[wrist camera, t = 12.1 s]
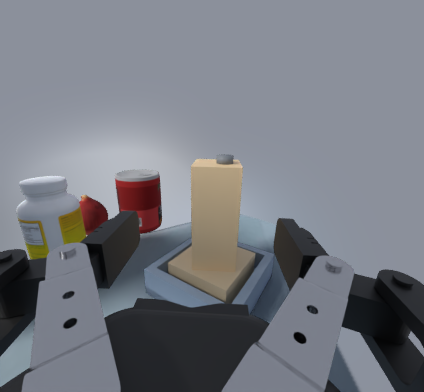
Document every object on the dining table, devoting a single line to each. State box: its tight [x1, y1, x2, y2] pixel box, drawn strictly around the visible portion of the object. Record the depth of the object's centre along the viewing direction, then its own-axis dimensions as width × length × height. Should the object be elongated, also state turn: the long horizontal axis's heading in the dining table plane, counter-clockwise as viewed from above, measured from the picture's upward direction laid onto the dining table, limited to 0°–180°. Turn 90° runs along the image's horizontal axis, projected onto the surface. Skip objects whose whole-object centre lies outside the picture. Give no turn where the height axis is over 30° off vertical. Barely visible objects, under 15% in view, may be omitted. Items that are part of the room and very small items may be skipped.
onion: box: [79, 195, 108, 235], centre depth 37 cm, size 6×6×8 cm
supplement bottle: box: [16, 176, 86, 259], centre depth 28 cm, size 7×7×13 cm
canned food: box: [115, 170, 162, 234], centre depth 41 cm, size 8×8×11 cm
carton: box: [191, 155, 243, 272], centre depth 24 cm, size 5×5×13 cm
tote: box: [144, 237, 274, 314], centre depth 27 cm, size 12×12×4 cm
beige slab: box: [168, 246, 255, 304], centre depth 27 cm, size 8×8×3 cm
